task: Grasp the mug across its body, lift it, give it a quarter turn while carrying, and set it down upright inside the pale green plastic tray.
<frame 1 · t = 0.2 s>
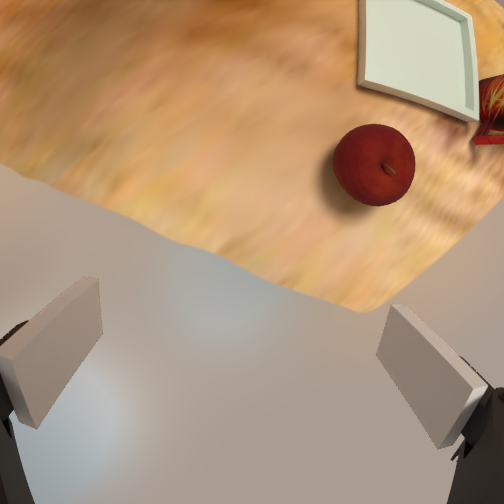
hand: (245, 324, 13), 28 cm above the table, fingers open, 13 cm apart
apple: (356, 164, 39), on the table
tray: (418, 45, 34), on the table
mug: (490, 116, 37), on the table
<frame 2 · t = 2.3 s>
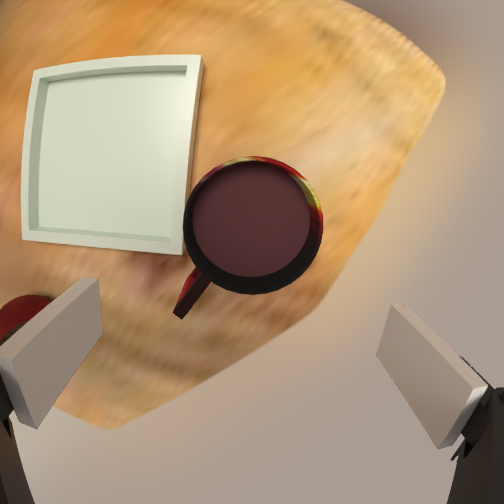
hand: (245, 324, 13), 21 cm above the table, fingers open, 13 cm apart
apple: (50, 314, 35), on the table
tray: (105, 151, 30), on the table
mug: (243, 225, 33), on the table
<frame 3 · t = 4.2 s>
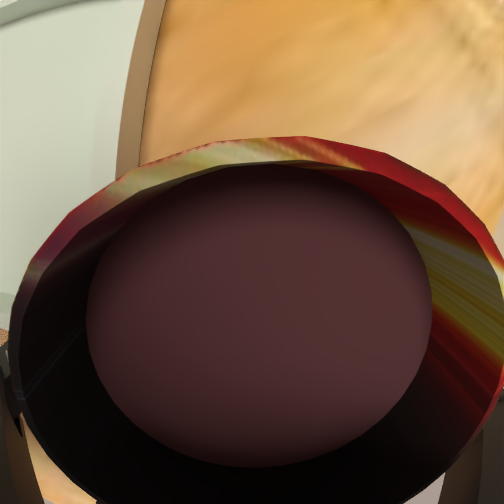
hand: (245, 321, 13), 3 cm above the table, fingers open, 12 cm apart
mug: (242, 294, 17), on the table
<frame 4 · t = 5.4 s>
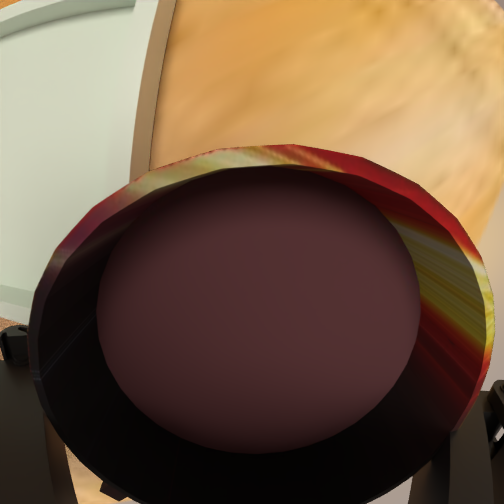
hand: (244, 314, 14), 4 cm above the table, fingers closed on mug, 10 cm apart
tray: (13, 153, 15), on the table
mug: (243, 290, 17), on the table, touching gripper
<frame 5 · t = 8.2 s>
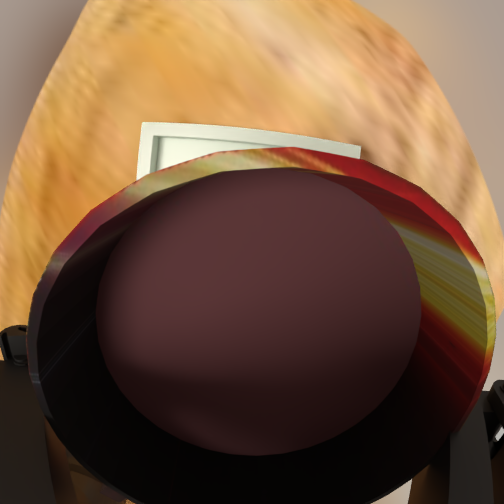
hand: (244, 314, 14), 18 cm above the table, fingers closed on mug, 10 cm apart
tray: (240, 233, 31), on the table
mug: (243, 291, 17), point 15 cm above the table, touching gripper
when the fingers open (5 cm above the table, at t = 11.0 s): mug stays where it is, resting on tray.
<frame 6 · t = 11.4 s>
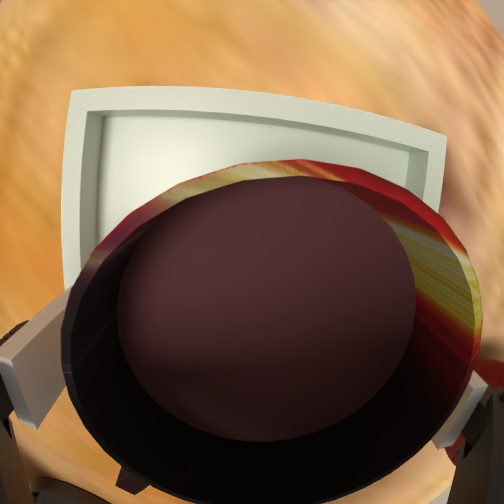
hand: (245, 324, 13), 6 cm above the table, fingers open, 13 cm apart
apple: (459, 382, 22), on the table
tray: (243, 278, 19), on the table
mug: (248, 288, 18), point 1 cm above the table, touching tray
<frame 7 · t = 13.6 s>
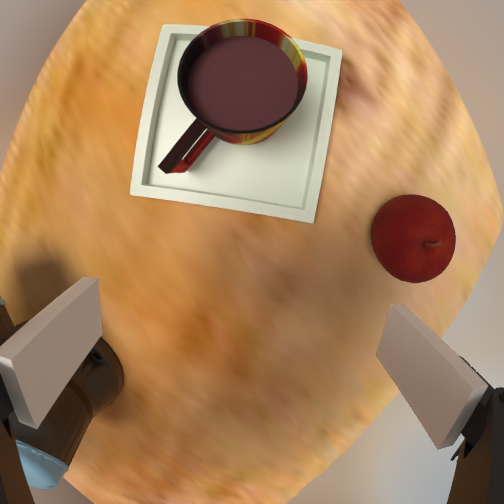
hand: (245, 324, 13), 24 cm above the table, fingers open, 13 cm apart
apple: (391, 227, 37), on the table
tray: (236, 118, 33), on the table
mug: (238, 121, 32), point 1 cm above the table, touching tray
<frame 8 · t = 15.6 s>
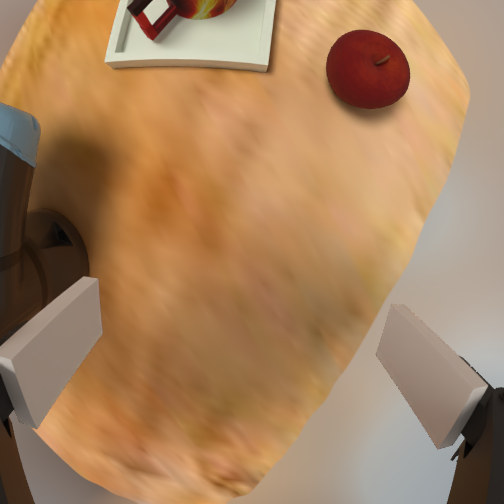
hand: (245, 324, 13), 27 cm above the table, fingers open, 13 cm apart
apple: (350, 81, 35), on the table
tray: (197, 3, 31), on the table
mug: (198, 4, 30), point 1 cm above the table, touching tray
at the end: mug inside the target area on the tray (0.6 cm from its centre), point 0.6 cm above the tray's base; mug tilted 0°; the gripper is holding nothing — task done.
